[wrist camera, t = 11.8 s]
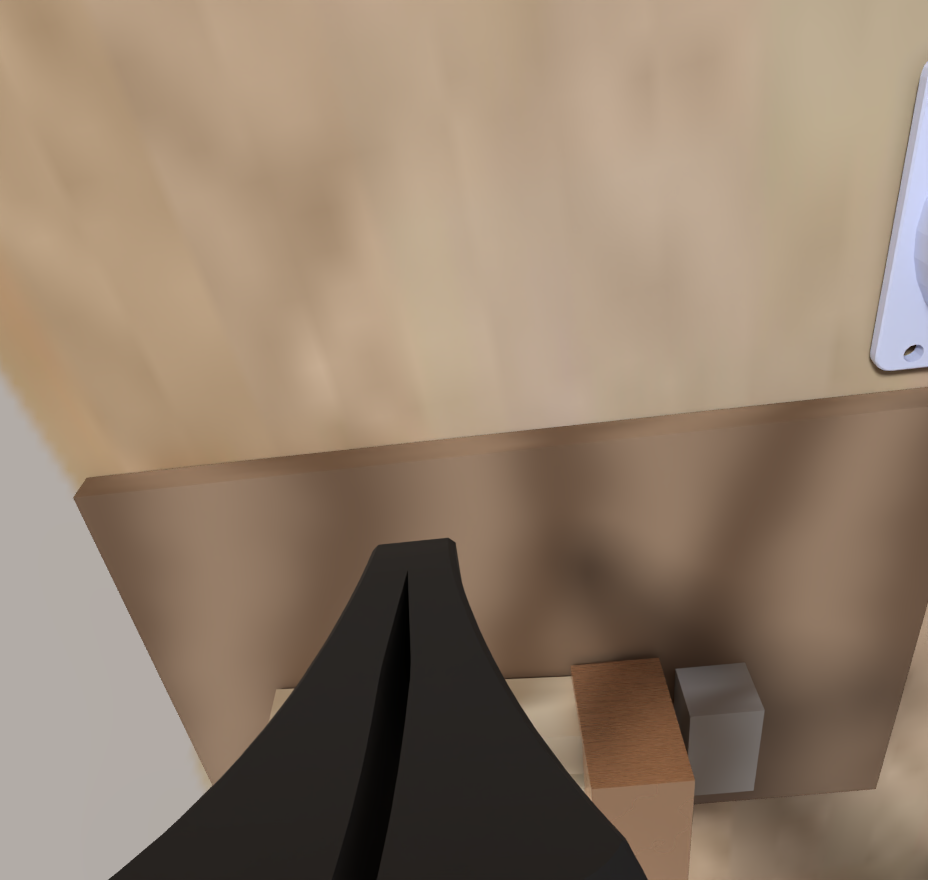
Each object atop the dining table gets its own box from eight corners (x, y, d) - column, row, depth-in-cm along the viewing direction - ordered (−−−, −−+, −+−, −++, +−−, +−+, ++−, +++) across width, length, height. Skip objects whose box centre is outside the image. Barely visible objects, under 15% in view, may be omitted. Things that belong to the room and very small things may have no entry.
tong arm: (650, 672, 27) (666, 732, 25) (645, 710, 28) (661, 770, 26) (276, 689, 27) (262, 749, 25) (285, 726, 28) (273, 786, 26)
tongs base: (964, 383, 22) (1045, 452, 19) (864, 766, 32) (908, 853, 29) (86, 477, 24) (32, 556, 21) (245, 819, 33) (224, 907, 30)
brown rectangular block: (658, 657, 26) (695, 780, 22) (655, 772, 30) (686, 896, 26) (570, 665, 26) (591, 789, 23) (577, 778, 30) (596, 903, 26)
